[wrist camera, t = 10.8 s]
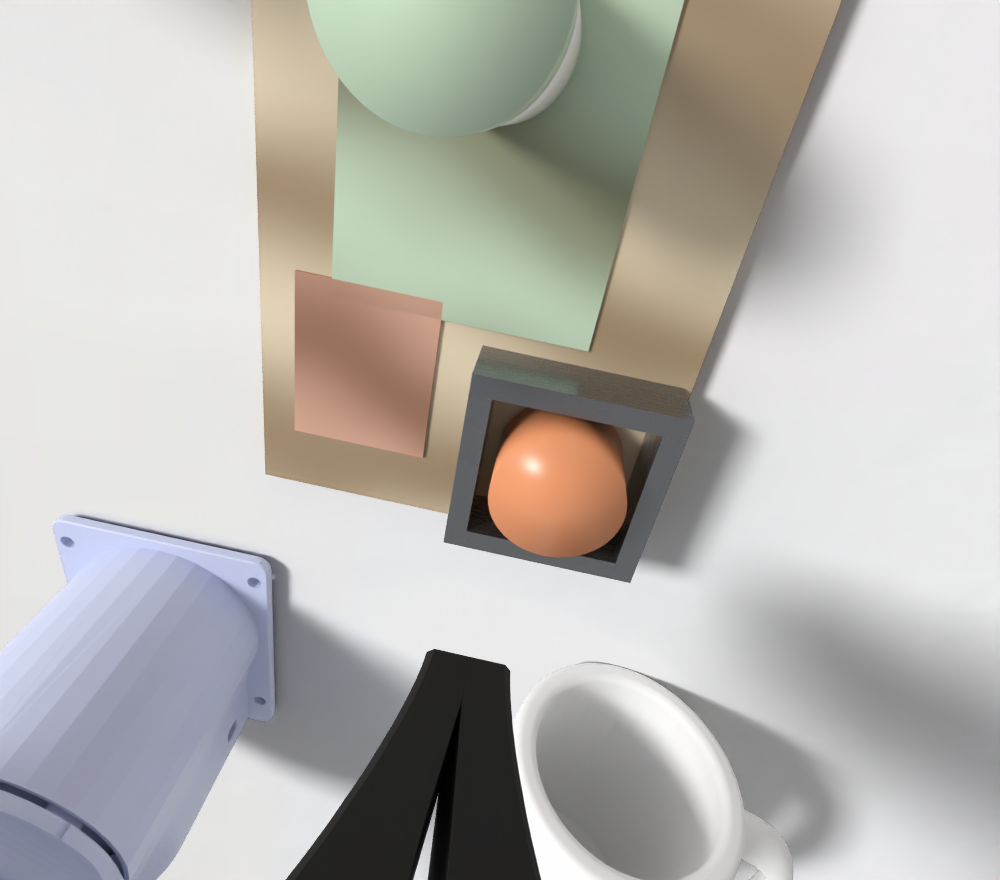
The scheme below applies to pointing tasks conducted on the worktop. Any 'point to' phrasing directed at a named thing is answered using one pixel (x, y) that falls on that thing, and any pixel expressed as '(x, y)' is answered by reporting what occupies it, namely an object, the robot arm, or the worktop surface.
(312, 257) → the picture board
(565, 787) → the mug
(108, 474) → the worktop surface
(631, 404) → the button housing
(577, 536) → the button
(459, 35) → the white and green cylinder
